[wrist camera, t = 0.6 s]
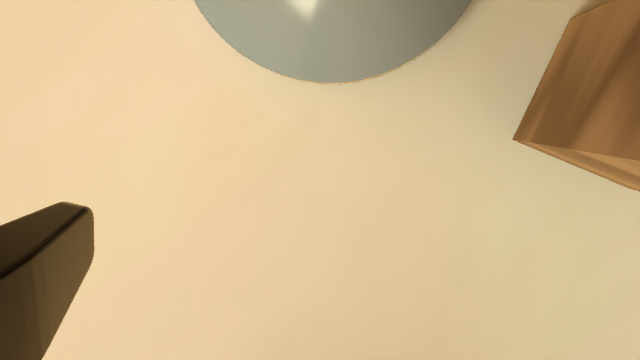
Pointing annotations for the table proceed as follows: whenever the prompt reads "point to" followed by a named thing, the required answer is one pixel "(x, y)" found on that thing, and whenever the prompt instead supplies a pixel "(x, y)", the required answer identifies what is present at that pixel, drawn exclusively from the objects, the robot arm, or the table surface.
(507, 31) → the table surface
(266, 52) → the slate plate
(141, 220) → the table surface
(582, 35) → the walnut block
